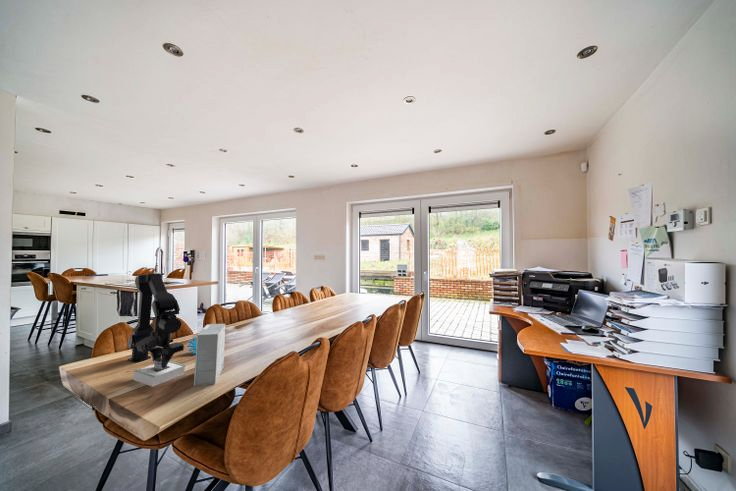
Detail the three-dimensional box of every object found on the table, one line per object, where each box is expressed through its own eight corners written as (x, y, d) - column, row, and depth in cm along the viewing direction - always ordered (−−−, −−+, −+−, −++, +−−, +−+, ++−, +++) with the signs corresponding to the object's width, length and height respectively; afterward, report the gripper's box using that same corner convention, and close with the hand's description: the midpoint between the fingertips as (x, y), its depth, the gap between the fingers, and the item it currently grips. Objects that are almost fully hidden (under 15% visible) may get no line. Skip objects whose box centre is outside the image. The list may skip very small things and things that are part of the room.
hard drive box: (204, 369, 117) (207, 323, 118) (223, 368, 120) (226, 323, 120) (192, 386, 103) (196, 334, 103) (215, 384, 105) (218, 333, 106)
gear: (187, 354, 129) (188, 335, 135) (184, 360, 132) (185, 341, 138) (213, 352, 136) (213, 335, 143) (209, 358, 139) (209, 340, 145)
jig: (133, 379, 105) (133, 370, 106) (165, 368, 117) (166, 359, 117) (152, 386, 101) (153, 376, 101) (184, 374, 112) (184, 365, 112)
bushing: (149, 375, 108) (151, 360, 108) (162, 371, 112) (163, 356, 112) (157, 377, 106) (158, 362, 106) (169, 373, 110) (170, 358, 111)
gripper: (125, 329, 105) (122, 369, 105) (156, 336, 99) (152, 379, 98) (156, 323, 116) (153, 359, 115) (186, 329, 109) (183, 368, 109)
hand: (160, 366), depth 109 cm, fingers closed on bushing, 4 cm apart
